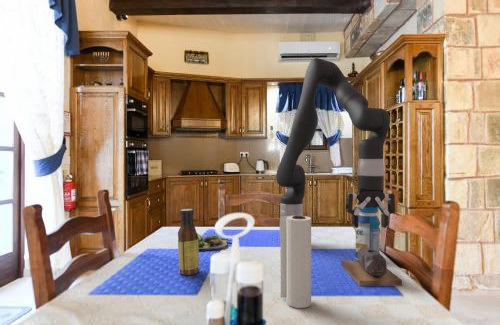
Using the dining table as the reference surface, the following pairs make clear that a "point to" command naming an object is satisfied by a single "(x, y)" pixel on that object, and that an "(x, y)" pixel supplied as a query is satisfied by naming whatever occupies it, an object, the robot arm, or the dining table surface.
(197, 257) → the sauce bottle
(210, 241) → the salad plate
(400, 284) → the walnut board
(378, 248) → the beverage bottle
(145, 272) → the dining table surface
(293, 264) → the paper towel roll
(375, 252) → the perforated stone tool
